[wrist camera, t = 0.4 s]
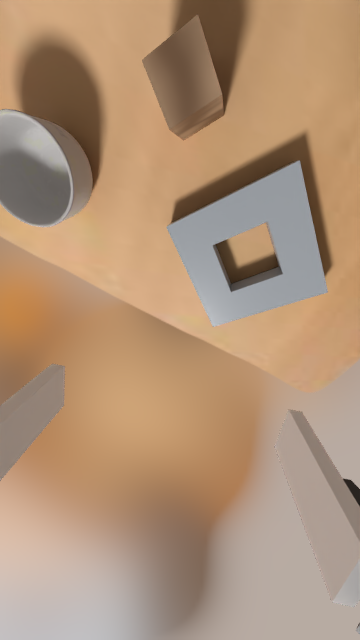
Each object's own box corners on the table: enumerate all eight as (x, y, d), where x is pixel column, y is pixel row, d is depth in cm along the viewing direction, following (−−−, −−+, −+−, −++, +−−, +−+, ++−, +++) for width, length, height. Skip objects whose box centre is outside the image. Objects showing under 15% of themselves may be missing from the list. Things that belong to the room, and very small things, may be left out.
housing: (293, 161, 27) (299, 160, 25) (320, 283, 34) (327, 292, 31) (171, 222, 33) (166, 226, 31) (214, 317, 40) (213, 326, 37)
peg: (206, 58, 24) (197, 14, 18) (224, 115, 26) (222, 94, 20) (164, 89, 26) (141, 60, 19) (183, 140, 28) (169, 129, 21)
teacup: (93, 119, 29) (51, 102, 22) (110, 217, 34) (81, 227, 27) (-6, 130, 31) (-70, 118, 24) (26, 219, 37) (-20, 229, 30)
